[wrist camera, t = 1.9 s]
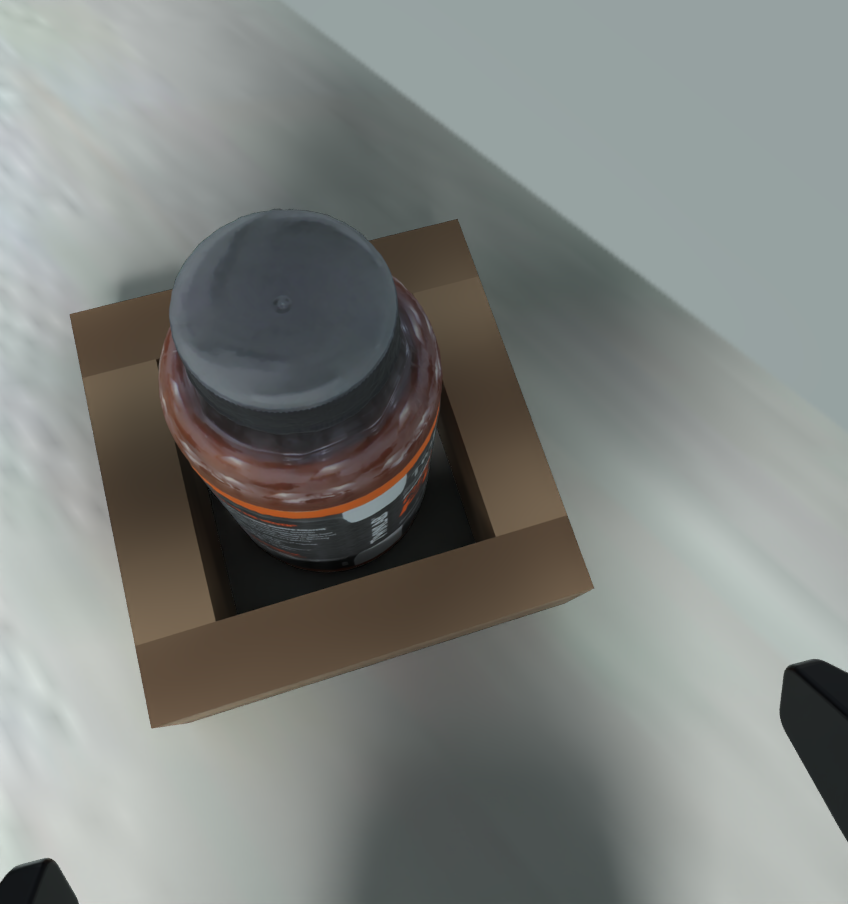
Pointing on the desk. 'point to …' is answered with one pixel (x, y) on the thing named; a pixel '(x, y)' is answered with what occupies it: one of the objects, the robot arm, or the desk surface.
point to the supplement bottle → (302, 387)
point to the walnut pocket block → (351, 603)
